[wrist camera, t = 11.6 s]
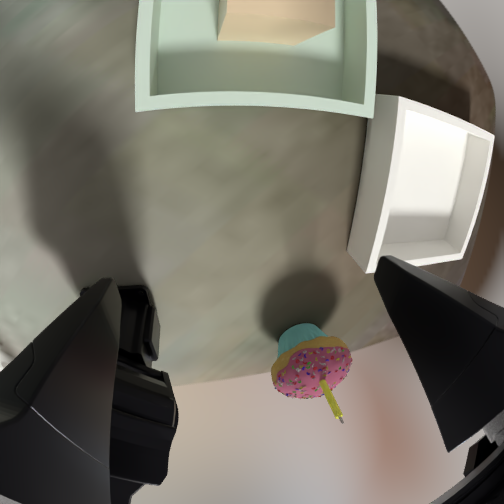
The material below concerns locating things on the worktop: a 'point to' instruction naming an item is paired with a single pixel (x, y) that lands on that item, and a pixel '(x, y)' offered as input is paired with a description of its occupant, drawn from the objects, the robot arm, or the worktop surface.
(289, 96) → the bin
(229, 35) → the beige plain cubic block
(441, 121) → the bin
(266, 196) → the worktop surface
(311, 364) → the cupcake
